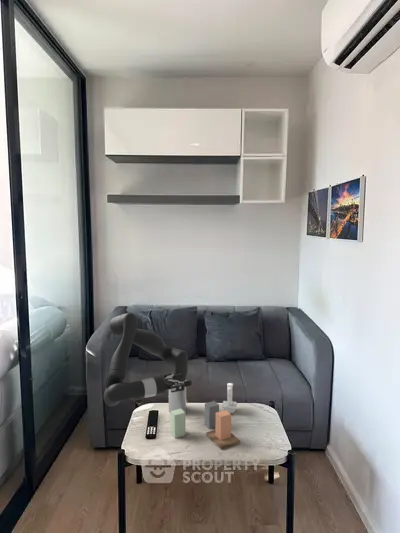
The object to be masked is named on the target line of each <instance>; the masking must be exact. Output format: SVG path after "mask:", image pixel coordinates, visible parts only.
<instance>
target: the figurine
mask: <svg viewBox="0 0 400 533" xmlns="http://www.w3.org/2000/svg"><path fill="white" fill-rule="evenodd" d="M226 385H227V386H226V388H227V389H226V391H227V400H223V401H222V408H223V411H224V410H226V411H228V412H229V413H230V414H234V413H235V411H236V410H237V409H238V407H237V406H238V405H237V404H238V403H237V401H233V387H234V383H233V382H228V383H227V384H226Z"/></svg>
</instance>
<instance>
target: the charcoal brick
mask: <svg viewBox="0 0 400 533" xmlns="http://www.w3.org/2000/svg"><path fill="white" fill-rule="evenodd" d="M216 412H220V404H219V403H218V402H217V401H215V400H212V401H209V402H206V403H204V425H205V427H206V428H208V429H209V430H211V429H215V425H216Z"/></svg>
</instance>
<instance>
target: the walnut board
mask: <svg viewBox="0 0 400 533" xmlns="http://www.w3.org/2000/svg"><path fill="white" fill-rule="evenodd" d="M205 434H206V437H207V438H208V439H209V440H210V441H211V442H212V443H213V444H214V445H216V446H217V447H218V448H219V449H220V450H225V449H229V448H231V447H233V446H236V444H237V445H239V443H240V444H241V439H239V438H238V437H237V436H236V435H235V434H233V433H232V432H231V437H230V438H227V439H224V440H220V439H219V438H218V437H216V436H215V429H213V430H211V431H207V432H206V433H205Z"/></svg>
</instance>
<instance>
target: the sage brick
mask: <svg viewBox="0 0 400 533" xmlns="http://www.w3.org/2000/svg"><path fill="white" fill-rule="evenodd" d="M170 434H171V436H172V437H173V438H174V439H177V438H180V437H183V436H186V412H184V411H183V410H182V409H177V410H174V411H171V413H170Z"/></svg>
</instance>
